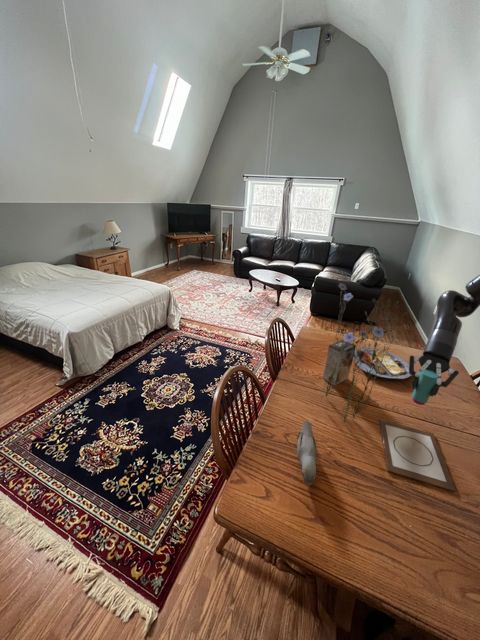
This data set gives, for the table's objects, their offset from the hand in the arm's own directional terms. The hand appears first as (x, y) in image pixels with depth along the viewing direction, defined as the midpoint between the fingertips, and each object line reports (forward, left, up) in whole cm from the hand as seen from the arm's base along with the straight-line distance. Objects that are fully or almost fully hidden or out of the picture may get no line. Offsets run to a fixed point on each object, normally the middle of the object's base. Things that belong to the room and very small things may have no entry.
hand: (422, 391), depth 85 cm
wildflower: (+23, +3, -14) cm, 27 cm away
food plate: (+6, -34, -14) cm, 37 cm away
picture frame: (+2, +13, -14) cm, 19 cm away
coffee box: (+25, -16, -14) cm, 33 cm away
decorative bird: (+32, +28, -14) cm, 44 cm away
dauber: (-1, -2, -5) cm, 5 cm away
